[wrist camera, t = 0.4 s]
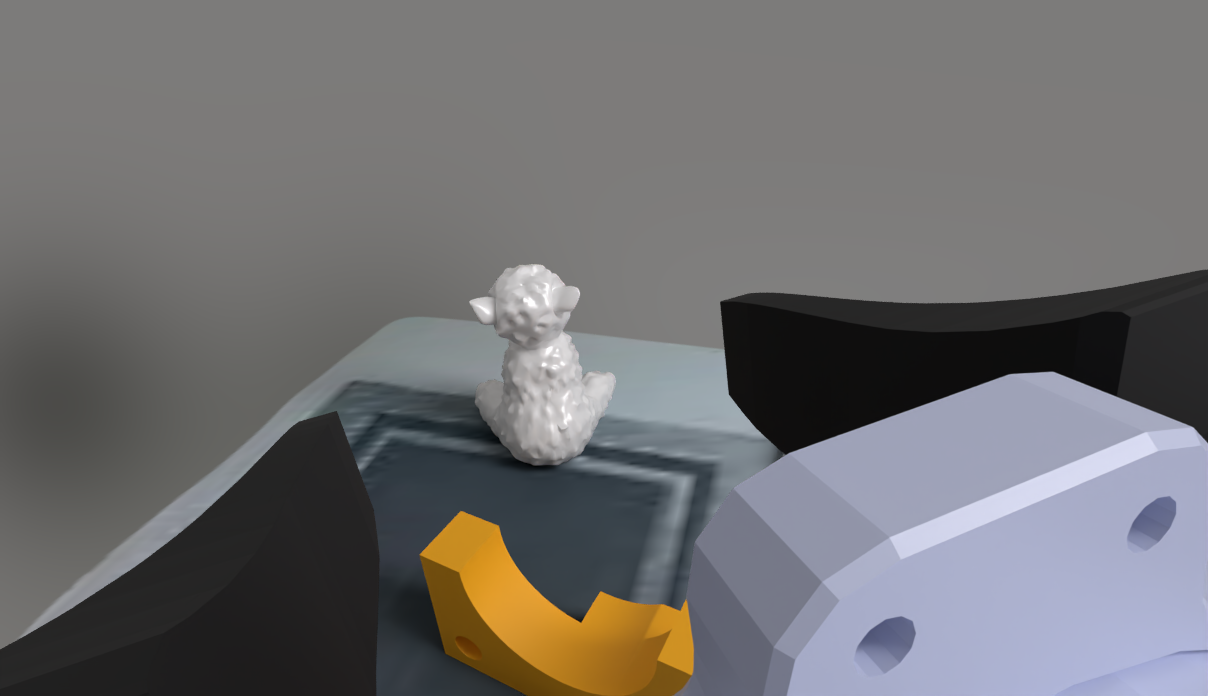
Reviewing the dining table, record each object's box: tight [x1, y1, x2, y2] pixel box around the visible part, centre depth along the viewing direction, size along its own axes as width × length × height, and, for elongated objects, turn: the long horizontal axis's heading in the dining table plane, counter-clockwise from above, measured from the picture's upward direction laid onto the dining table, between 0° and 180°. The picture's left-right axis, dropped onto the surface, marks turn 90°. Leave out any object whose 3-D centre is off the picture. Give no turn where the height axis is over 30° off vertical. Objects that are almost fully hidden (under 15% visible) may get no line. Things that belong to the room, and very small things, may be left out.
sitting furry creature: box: [469, 264, 616, 466], centre depth 39 cm, size 10×9×12 cm
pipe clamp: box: [420, 511, 694, 696], centre depth 26 cm, size 12×4×6 cm, turn 63°
